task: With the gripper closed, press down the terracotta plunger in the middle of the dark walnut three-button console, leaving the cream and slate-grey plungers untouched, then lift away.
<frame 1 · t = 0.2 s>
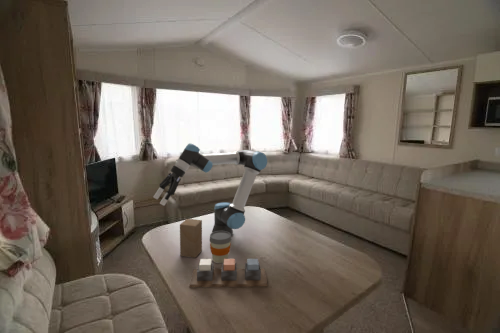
hand: (158, 201, 136), 36 cm above the table, tool tilted 35°, fingers open, 13 cm apart
terracotta button: (229, 266, 128), point 7 cm above the table, slide at 0.0 cm
reusable coffee cup: (220, 259, 148), on the table
cream button: (205, 266, 127), point 7 cm above the table, slide at 0.0 cm
wooden block: (191, 253, 153), on the table
slate button: (252, 266, 128), point 7 cm above the table, slide at 0.0 cm
console: (229, 278, 129), on the table
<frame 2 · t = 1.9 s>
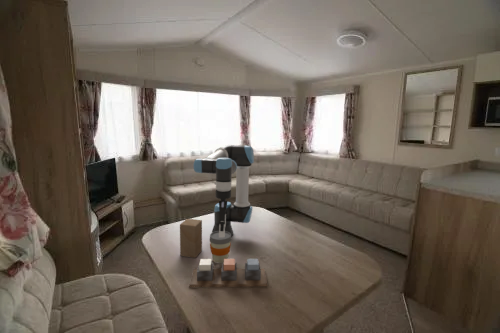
hand: (222, 231, 124), 26 cm above the table, tool pointing down, fingers open, 13 cm apart
nothing on the table moved.
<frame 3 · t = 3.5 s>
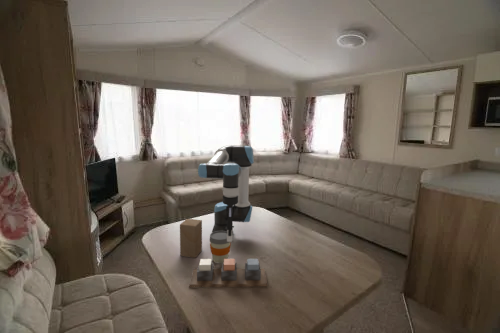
hand: (229, 240, 125), 21 cm above the table, tool pointing down, fingers closed
nothing on the table moved.
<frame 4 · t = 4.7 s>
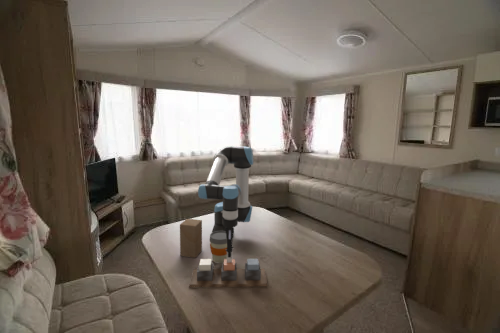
hand: (229, 261, 127), 10 cm above the table, tool pointing down, fingers closed
terracotta button: (229, 266, 128), point 7 cm above the table, slide at 0.2 cm, touching gripper
everything else where it was.
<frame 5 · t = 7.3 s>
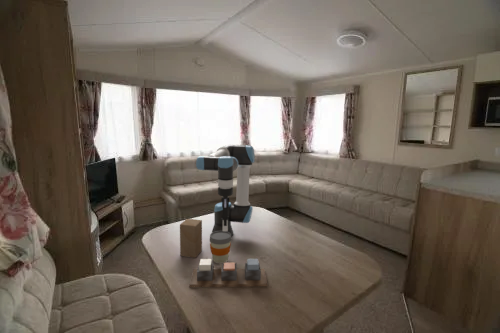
hand: (225, 230, 131), 24 cm above the table, tool pointing down, fingers closed
terracotta button: (229, 269, 128), point 5 cm above the table, slide at 2.1 cm
everything else where it was.
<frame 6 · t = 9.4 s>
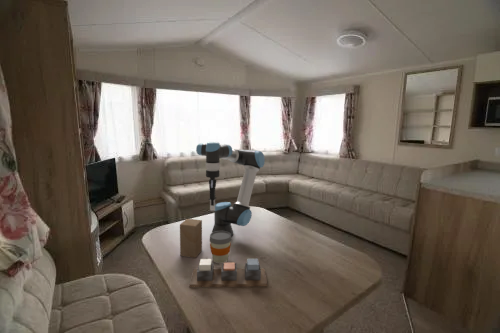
hand: (212, 210, 144), 29 cm above the table, tool pointing down, fingers closed
nothing on the table moved.
at the end: terracotta button slide at 2.1 cm; cream button slide at 0.0 cm; slate button slide at 0.0 cm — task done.
